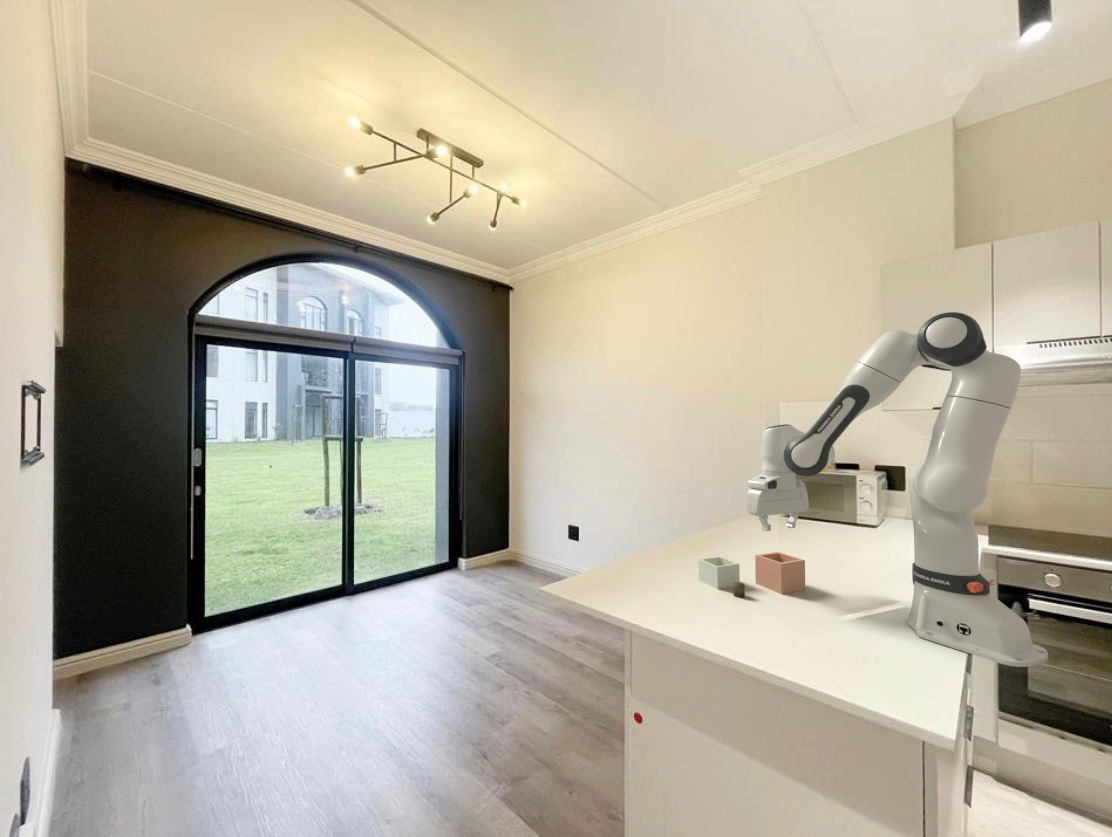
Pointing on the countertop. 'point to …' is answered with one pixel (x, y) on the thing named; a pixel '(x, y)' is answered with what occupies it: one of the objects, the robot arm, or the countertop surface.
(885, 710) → the countertop surface
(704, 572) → the tub
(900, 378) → the robot arm
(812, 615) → the countertop surface
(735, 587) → the lid
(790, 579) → the planter
